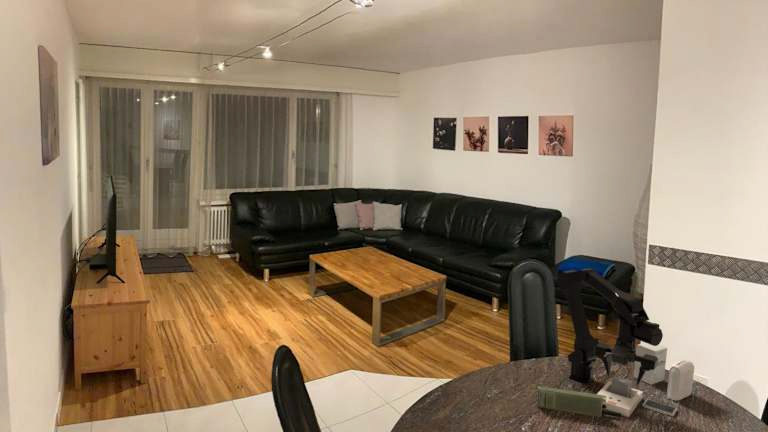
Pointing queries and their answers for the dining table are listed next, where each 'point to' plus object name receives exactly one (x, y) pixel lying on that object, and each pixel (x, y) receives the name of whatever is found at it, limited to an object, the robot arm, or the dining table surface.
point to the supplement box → (659, 371)
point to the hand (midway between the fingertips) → (623, 380)
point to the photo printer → (680, 380)
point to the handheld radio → (573, 402)
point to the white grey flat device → (620, 400)
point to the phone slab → (659, 407)
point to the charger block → (621, 387)
